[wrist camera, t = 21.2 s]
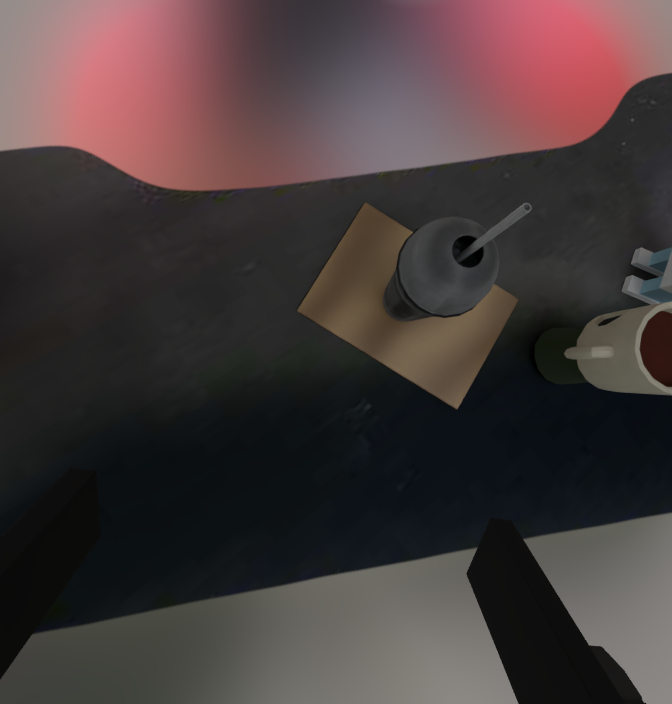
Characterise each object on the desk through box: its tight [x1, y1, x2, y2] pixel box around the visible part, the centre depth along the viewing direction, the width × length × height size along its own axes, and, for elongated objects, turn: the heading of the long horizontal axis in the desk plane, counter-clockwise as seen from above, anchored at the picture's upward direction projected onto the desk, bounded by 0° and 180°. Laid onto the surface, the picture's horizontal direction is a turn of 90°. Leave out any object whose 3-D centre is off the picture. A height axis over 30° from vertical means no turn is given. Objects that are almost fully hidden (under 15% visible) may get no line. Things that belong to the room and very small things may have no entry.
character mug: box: [534, 302, 672, 395], centre depth 32 cm, size 11×7×13 cm, turn 92°
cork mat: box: [297, 202, 519, 409], centre depth 38 cm, size 20×14×1 cm
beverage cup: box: [383, 203, 532, 322], centre depth 28 cm, size 7×7×20 cm
